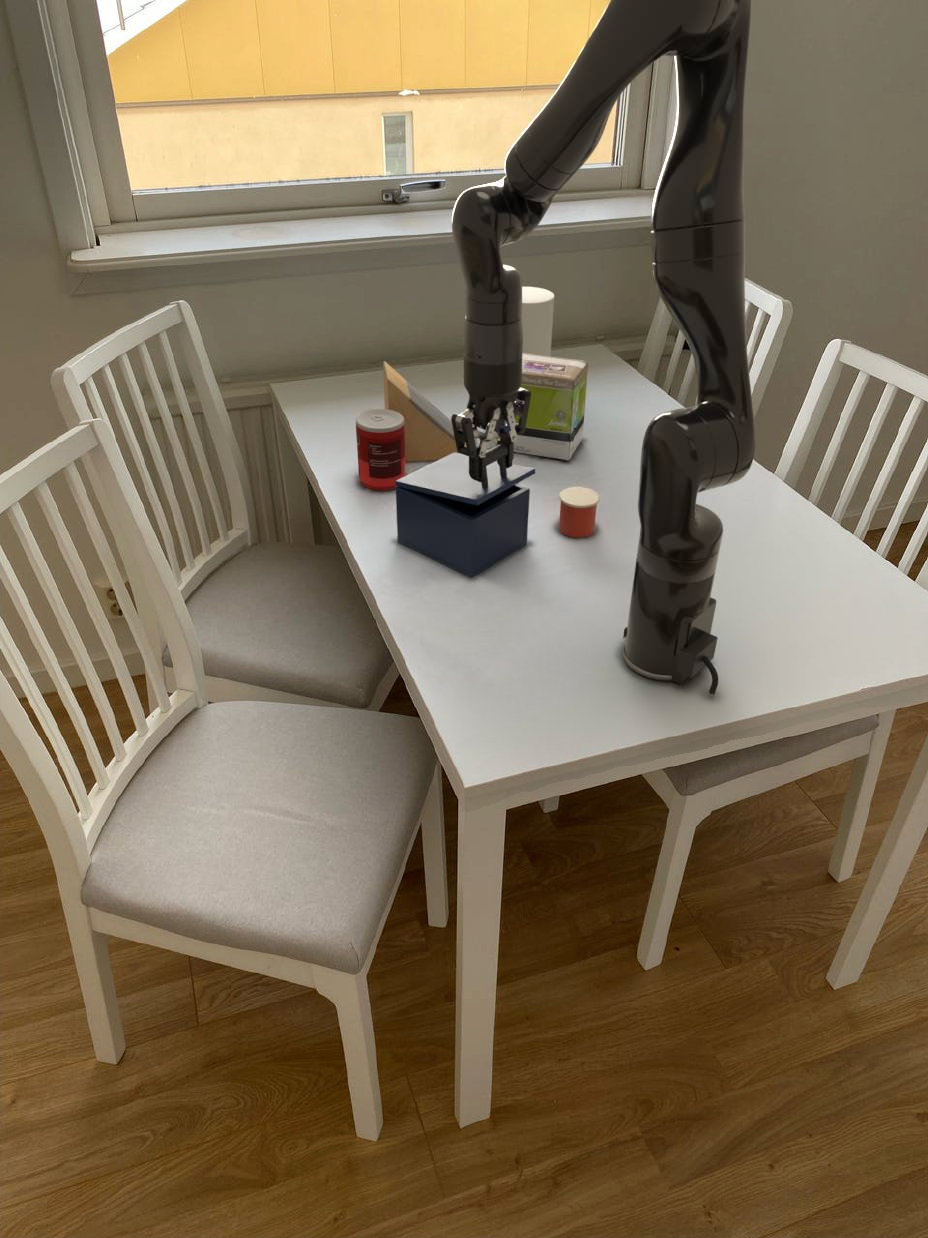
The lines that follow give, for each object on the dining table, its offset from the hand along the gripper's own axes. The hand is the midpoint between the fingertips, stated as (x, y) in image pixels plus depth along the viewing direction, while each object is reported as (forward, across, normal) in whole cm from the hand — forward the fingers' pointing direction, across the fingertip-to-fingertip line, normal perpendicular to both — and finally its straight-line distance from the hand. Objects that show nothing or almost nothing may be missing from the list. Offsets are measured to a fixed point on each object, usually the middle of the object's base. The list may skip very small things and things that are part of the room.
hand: (491, 472), depth 133 cm
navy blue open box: (+13, 0, +6) cm, 14 cm away
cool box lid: (+3, 0, +5) cm, 6 cm away
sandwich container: (+13, +20, +30) cm, 39 cm away
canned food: (+13, +6, +28) cm, 32 cm away
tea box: (+13, +34, +18) cm, 41 cm away
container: (+13, +49, +34) cm, 61 cm away
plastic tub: (+14, +15, -4) cm, 21 cm away
